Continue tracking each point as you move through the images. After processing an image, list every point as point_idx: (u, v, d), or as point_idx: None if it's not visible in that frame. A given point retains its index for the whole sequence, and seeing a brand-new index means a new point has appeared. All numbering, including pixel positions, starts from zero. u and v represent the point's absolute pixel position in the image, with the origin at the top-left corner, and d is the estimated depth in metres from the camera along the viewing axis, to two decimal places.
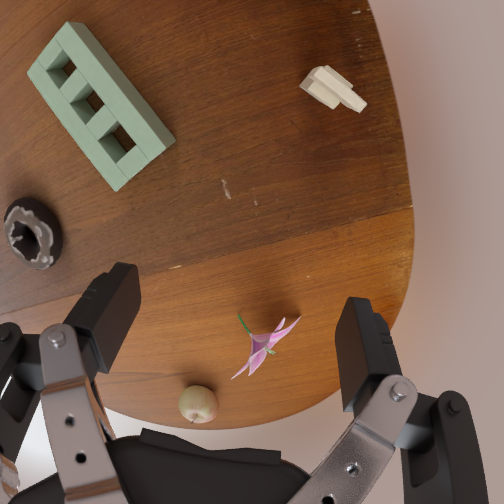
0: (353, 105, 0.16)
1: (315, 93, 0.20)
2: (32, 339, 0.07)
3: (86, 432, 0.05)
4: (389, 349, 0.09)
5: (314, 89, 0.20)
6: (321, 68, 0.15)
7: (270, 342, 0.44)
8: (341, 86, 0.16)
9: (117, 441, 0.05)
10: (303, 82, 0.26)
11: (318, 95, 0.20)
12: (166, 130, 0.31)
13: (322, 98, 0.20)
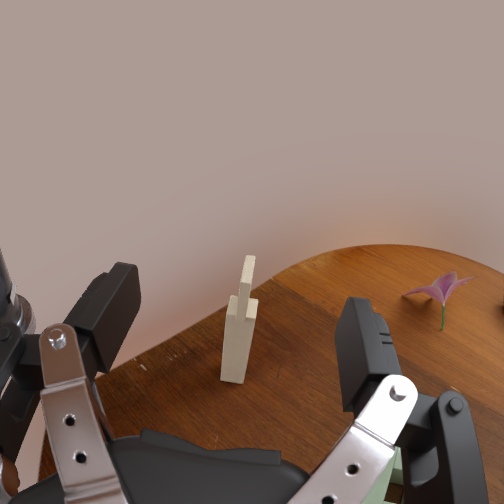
0: (253, 259, 0.25)
1: (255, 313, 0.26)
2: (32, 339, 0.07)
3: (86, 432, 0.05)
4: (389, 349, 0.09)
5: (252, 314, 0.25)
6: (242, 280, 0.22)
7: None
8: (246, 268, 0.24)
9: (117, 441, 0.05)
10: (240, 372, 0.29)
11: (255, 310, 0.26)
12: None
13: (255, 307, 0.26)
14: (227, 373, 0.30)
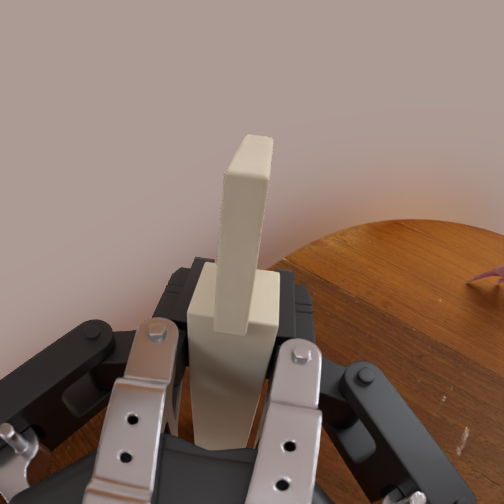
0: (269, 140, 0.08)
1: (275, 308, 0.08)
2: (120, 336, 0.08)
3: (144, 436, 0.05)
4: (306, 318, 0.10)
5: (269, 313, 0.08)
6: (232, 168, 0.05)
7: None
8: (247, 149, 0.07)
9: (172, 454, 0.05)
10: (235, 441, 0.12)
11: (274, 302, 0.09)
12: None
13: (275, 293, 0.09)
14: (208, 442, 0.12)
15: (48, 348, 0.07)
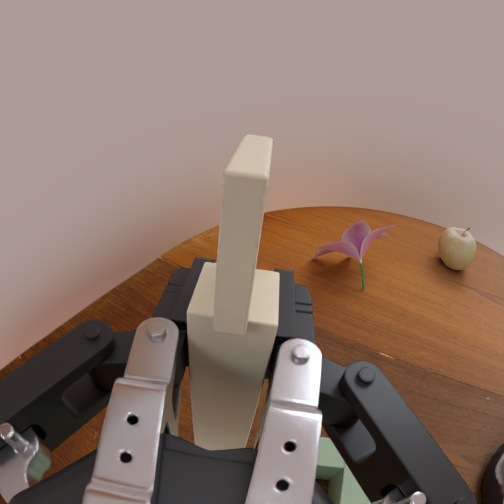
0: (268, 140, 0.08)
1: (274, 308, 0.08)
2: (120, 336, 0.08)
3: (144, 437, 0.05)
4: (306, 318, 0.10)
5: (268, 313, 0.08)
6: (231, 168, 0.05)
7: None
8: (247, 149, 0.07)
9: (173, 454, 0.05)
10: (235, 441, 0.12)
11: (274, 301, 0.09)
12: None
13: (274, 293, 0.09)
14: (208, 441, 0.12)
15: (48, 348, 0.07)
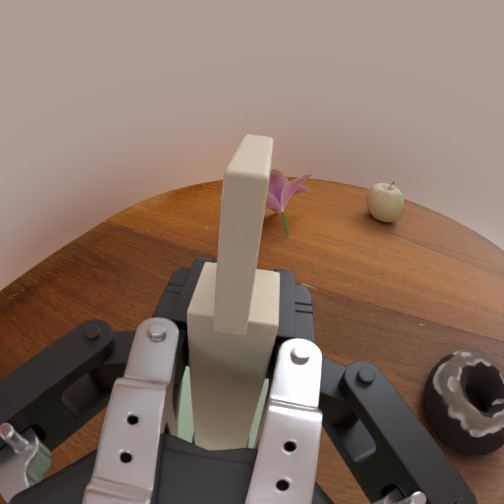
0: (269, 140, 0.08)
1: (275, 308, 0.08)
2: (120, 336, 0.08)
3: (144, 436, 0.05)
4: (307, 318, 0.10)
5: (268, 313, 0.08)
6: (232, 168, 0.05)
7: None
8: (247, 149, 0.07)
9: (173, 454, 0.05)
10: (235, 441, 0.12)
11: (274, 302, 0.09)
12: None
13: (274, 293, 0.09)
14: (208, 442, 0.12)
15: (48, 348, 0.07)
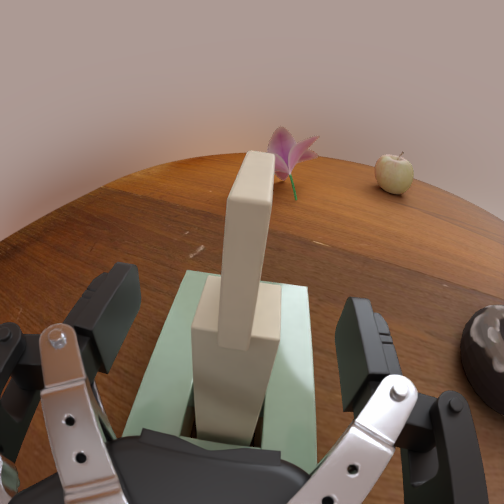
0: (271, 157, 0.08)
1: (276, 322, 0.09)
2: (32, 339, 0.07)
3: (86, 432, 0.05)
4: (389, 349, 0.09)
5: (270, 327, 0.08)
6: (235, 193, 0.06)
7: (282, 171, 0.46)
8: (249, 169, 0.07)
9: (117, 441, 0.05)
10: None
11: (276, 316, 0.09)
12: None
13: (276, 307, 0.09)
14: None
15: None
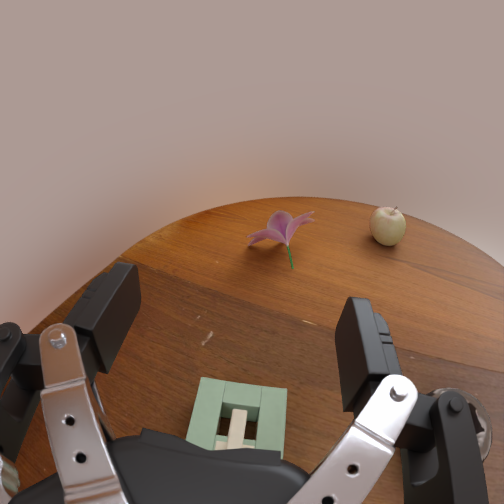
0: (244, 419, 0.15)
1: None
2: (32, 339, 0.07)
3: (86, 432, 0.05)
4: (389, 349, 0.09)
5: None
6: None
7: None
8: (232, 439, 0.13)
9: (117, 441, 0.05)
10: None
11: None
12: None
13: None
14: None
15: None
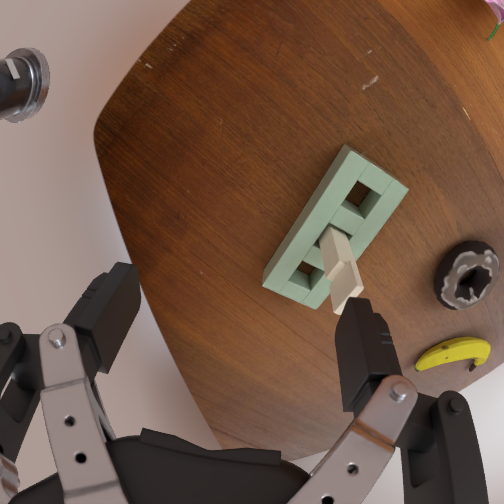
0: (359, 293, 0.26)
1: None
2: (32, 339, 0.07)
3: (86, 432, 0.05)
4: (389, 349, 0.09)
5: None
6: (335, 312, 0.27)
7: (498, 1, 0.17)
8: None
9: (117, 441, 0.05)
10: None
11: None
12: (337, 156, 0.33)
13: None
14: None
15: None
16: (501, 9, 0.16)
